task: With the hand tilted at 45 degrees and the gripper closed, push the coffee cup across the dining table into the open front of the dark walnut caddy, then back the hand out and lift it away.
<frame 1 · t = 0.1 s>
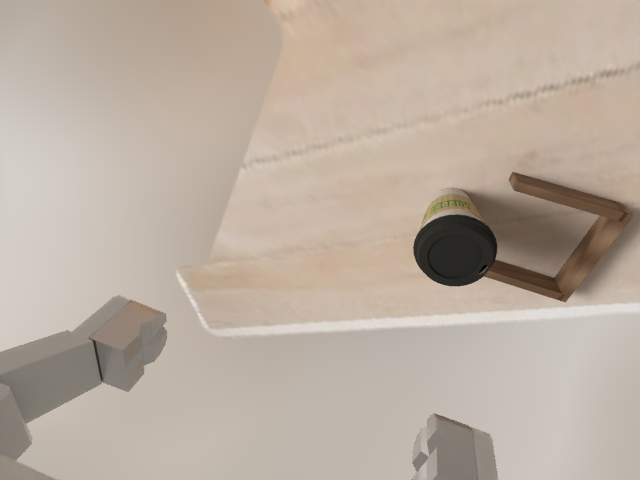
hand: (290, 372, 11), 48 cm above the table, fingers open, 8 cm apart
walnut caddy: (534, 232, 55), on the table
coffee cup: (449, 206, 57), on the table
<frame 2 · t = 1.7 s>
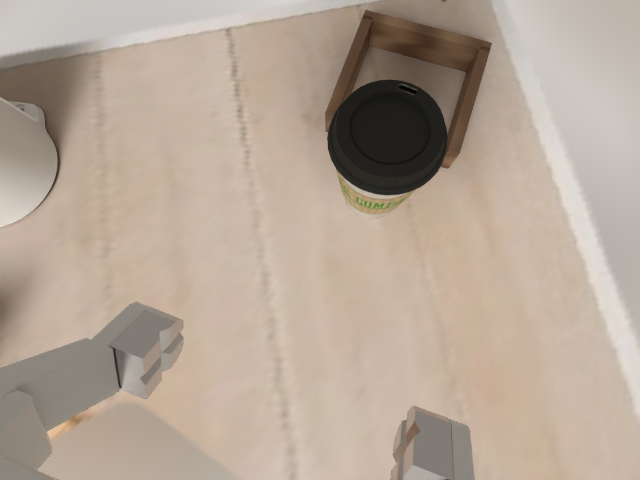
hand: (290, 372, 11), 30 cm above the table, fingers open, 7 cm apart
walnut caddy: (402, 101, 45), on the table
coffee cup: (370, 194, 43), on the table
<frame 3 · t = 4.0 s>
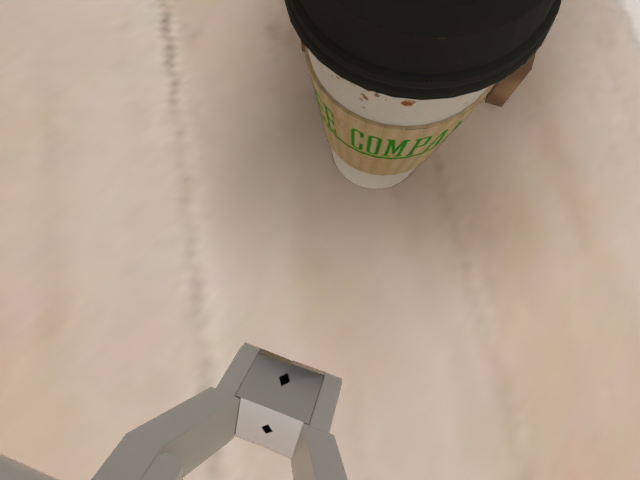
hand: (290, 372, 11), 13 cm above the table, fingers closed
walnut caddy: (424, 3, 28), on the table
coffee cup: (374, 149, 26), on the table
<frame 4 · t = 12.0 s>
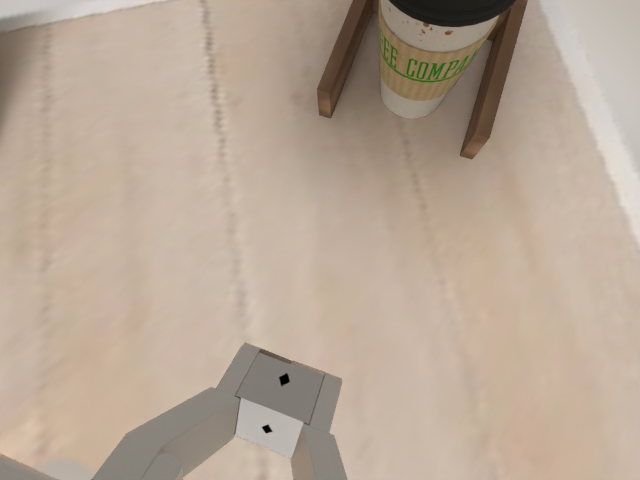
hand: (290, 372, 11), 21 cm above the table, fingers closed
walnut caddy: (414, 77, 37), on the table
coffee cup: (411, 92, 37), on the table
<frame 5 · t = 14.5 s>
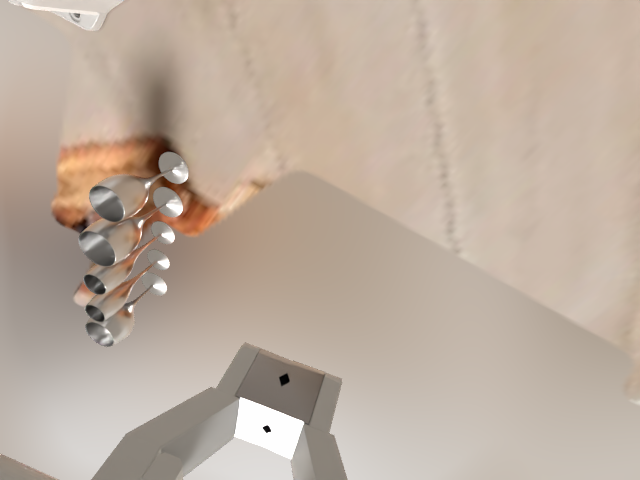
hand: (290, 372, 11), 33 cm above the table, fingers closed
goblet set: (163, 233, 55), on the table
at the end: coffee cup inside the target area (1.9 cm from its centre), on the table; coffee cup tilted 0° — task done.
